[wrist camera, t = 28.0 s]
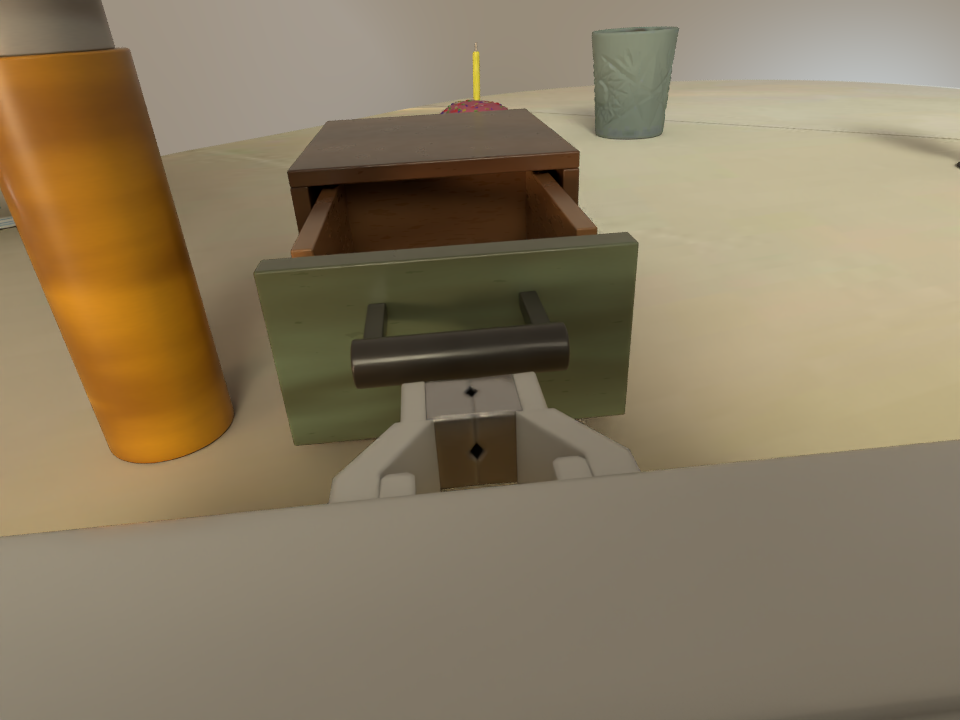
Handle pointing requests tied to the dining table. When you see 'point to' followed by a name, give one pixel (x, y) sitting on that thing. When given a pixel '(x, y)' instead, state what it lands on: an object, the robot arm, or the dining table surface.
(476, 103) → the cupcake
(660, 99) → the green embossed cup
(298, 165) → the cabinet
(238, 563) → the robot arm
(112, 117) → the pepper mill
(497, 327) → the drawer
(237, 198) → the dining table surface
